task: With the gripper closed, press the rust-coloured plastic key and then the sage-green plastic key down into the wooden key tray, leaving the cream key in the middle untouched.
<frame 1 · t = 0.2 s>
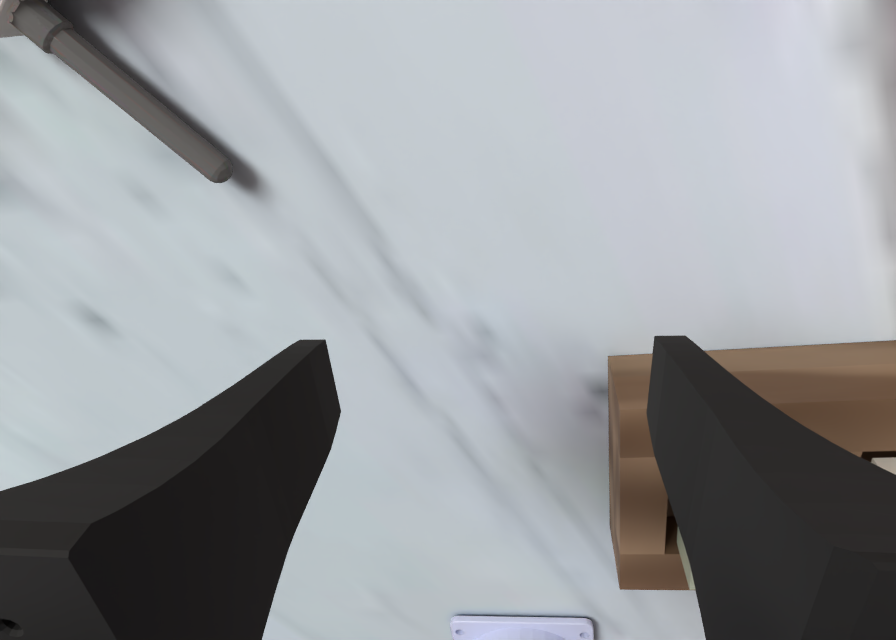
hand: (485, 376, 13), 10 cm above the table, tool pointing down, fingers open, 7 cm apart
key sage: (747, 526, 22), point 4 cm above the table, slide at 0.0 cm
wooden key tray: (878, 441, 24), on the table
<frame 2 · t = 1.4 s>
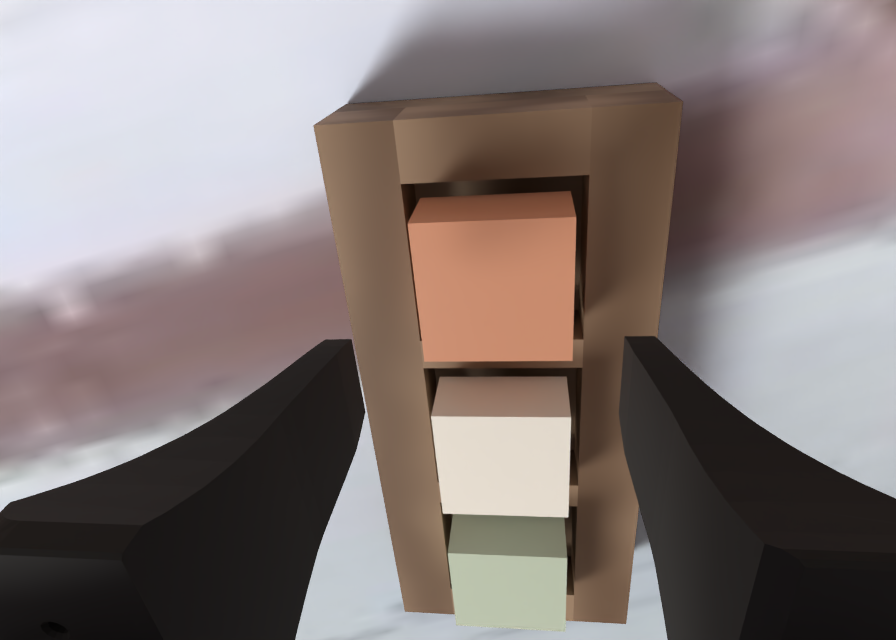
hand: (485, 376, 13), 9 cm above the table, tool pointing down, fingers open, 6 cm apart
key cream: (503, 446, 20), point 4 cm above the table, slide at 0.0 cm
key rust: (495, 278, 17), point 4 cm above the table, slide at 0.0 cm
key sage: (509, 569, 24), point 4 cm above the table, slide at 0.0 cm
wooden key tray: (506, 374, 24), on the table
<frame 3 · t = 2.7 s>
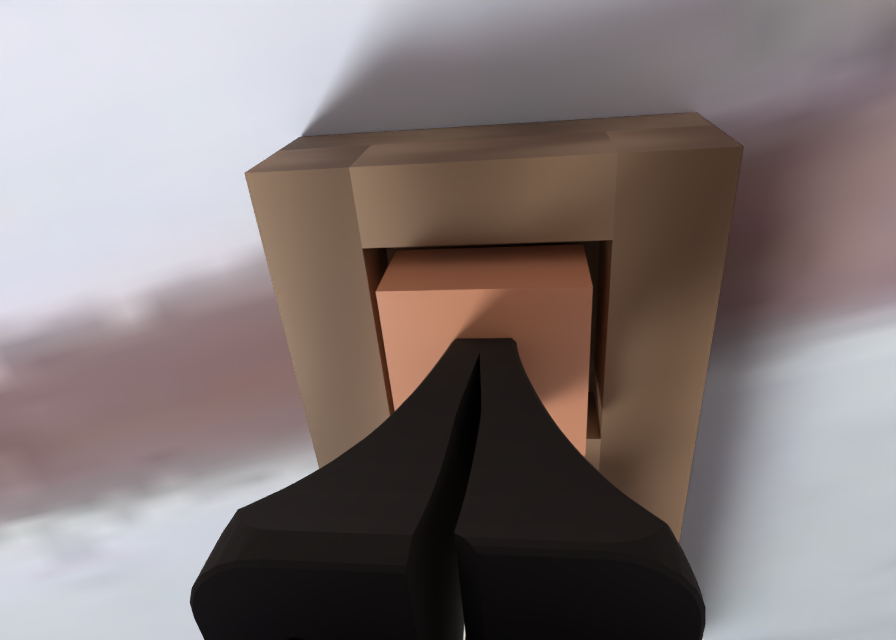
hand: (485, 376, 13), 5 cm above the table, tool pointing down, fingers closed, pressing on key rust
key cream: (498, 564, 16), point 4 cm above the table, slide at 0.0 cm
key rust: (489, 351, 14), point 4 cm above the table, slide at 0.8 cm, touching gripper
wooden key tray: (503, 455, 20), on the table
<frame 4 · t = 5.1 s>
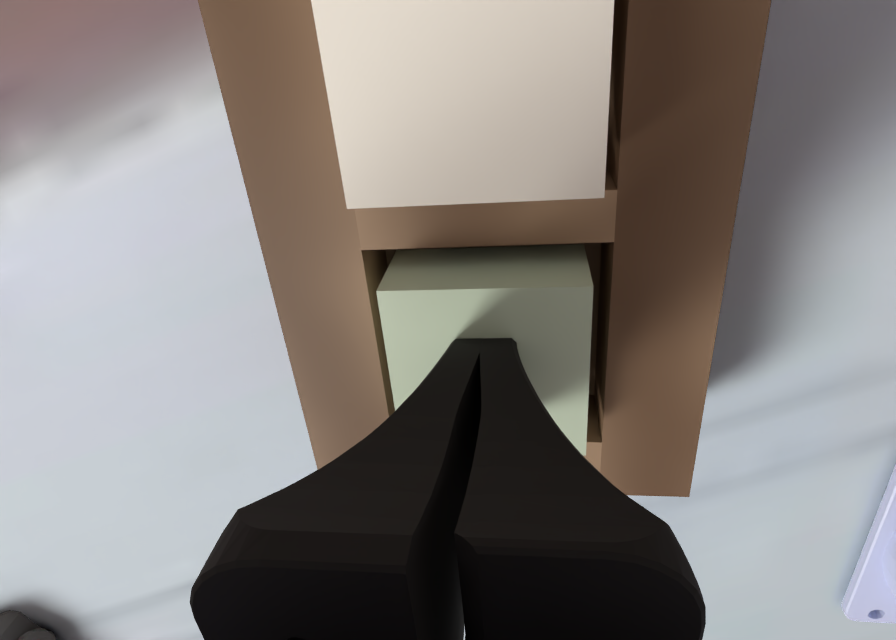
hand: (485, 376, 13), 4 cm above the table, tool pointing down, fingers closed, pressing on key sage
key cream: (468, 56, 10), point 4 cm above the table, slide at 0.0 cm
key sage: (489, 351, 14), point 3 cm above the table, slide at 1.0 cm, touching gripper
wooden key tray: (484, 37, 14), on the table
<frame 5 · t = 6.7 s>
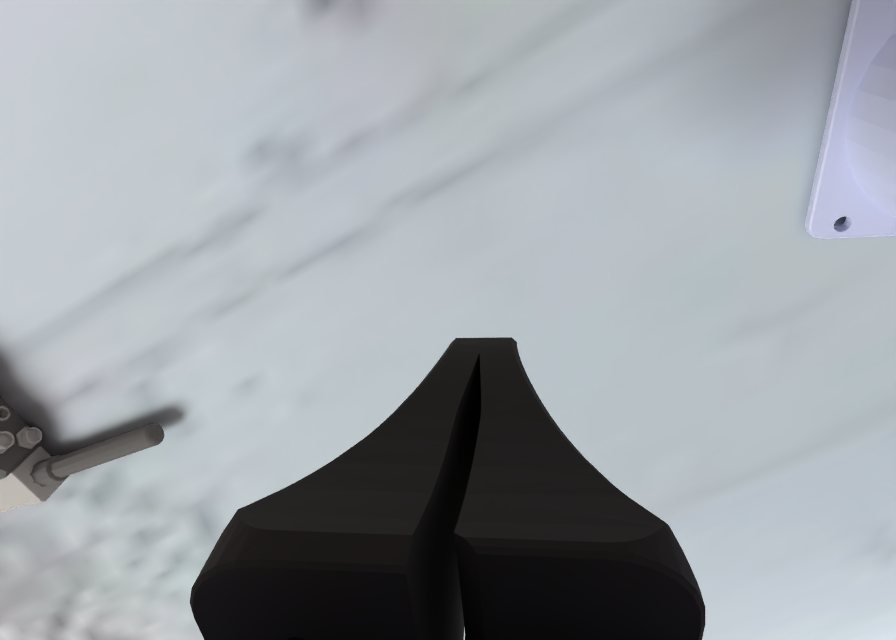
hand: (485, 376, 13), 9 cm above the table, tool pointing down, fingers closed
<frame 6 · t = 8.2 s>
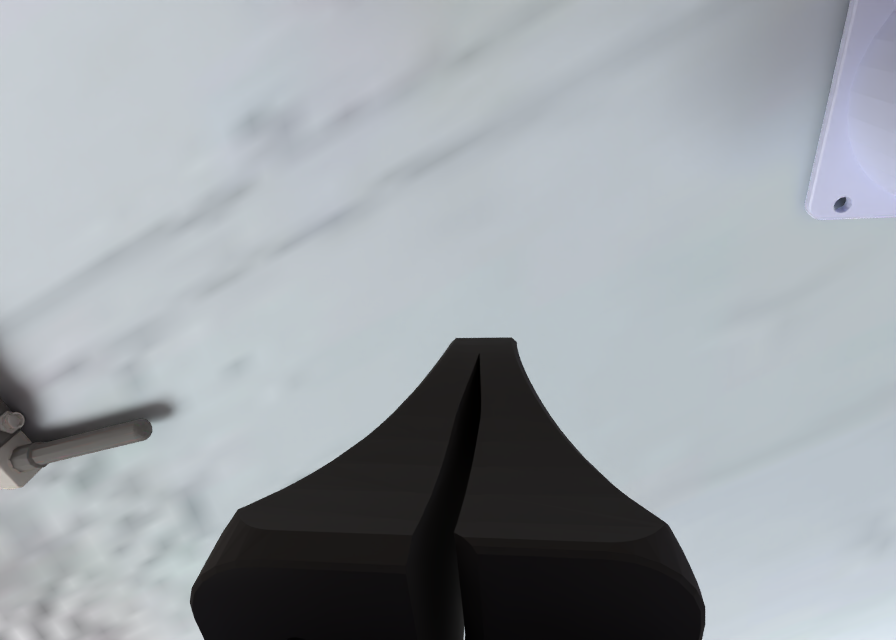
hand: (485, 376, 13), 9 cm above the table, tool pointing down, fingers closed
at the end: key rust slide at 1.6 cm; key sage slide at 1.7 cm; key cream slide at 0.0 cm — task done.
